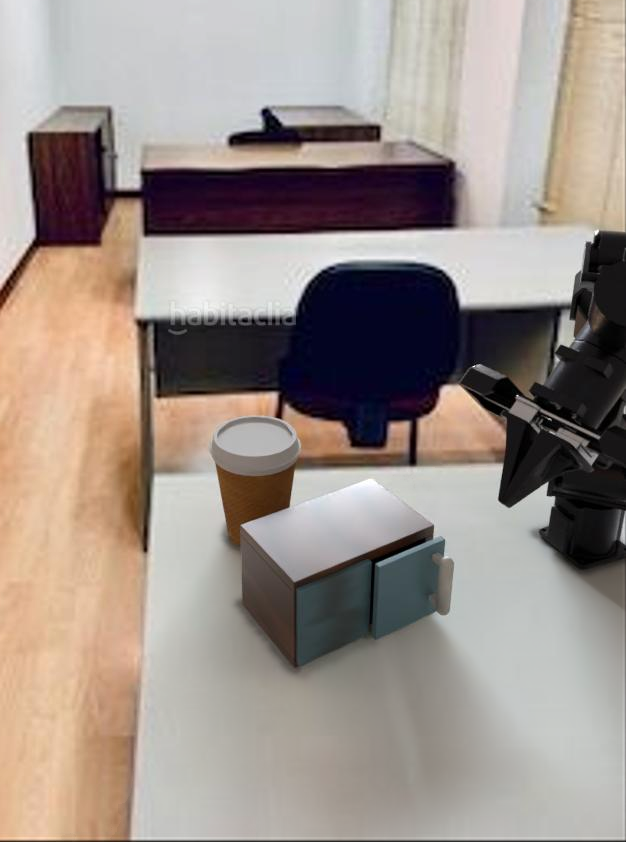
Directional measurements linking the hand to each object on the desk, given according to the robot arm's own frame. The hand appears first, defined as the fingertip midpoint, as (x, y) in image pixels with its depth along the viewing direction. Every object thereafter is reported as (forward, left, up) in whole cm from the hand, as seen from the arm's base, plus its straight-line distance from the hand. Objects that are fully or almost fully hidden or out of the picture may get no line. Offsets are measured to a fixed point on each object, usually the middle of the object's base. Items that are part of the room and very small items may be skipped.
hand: (503, 504), depth 66 cm
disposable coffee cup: (+16, -19, -12) cm, 27 cm away
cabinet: (+13, -6, -12) cm, 19 cm away
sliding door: (+8, 0, -11) cm, 14 cm away
